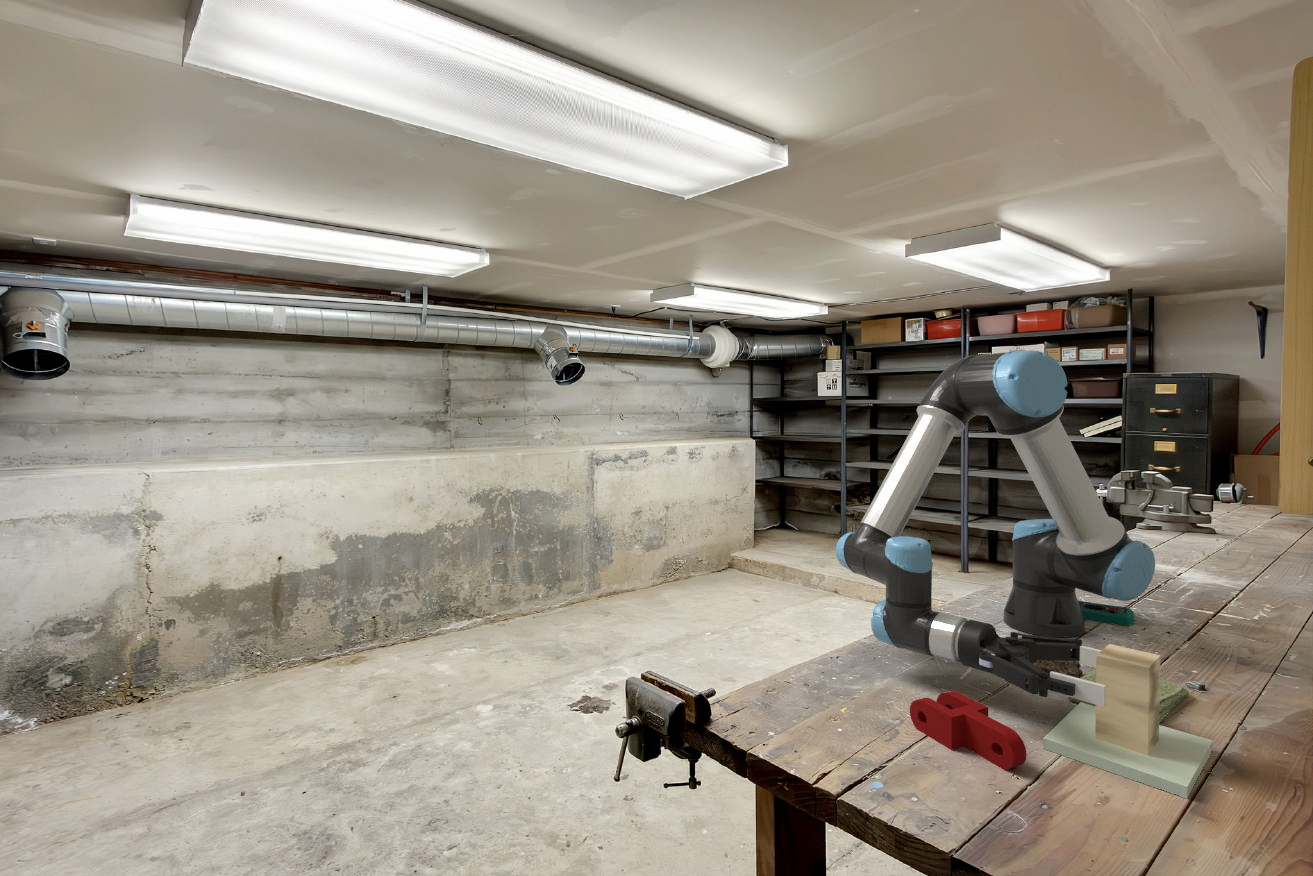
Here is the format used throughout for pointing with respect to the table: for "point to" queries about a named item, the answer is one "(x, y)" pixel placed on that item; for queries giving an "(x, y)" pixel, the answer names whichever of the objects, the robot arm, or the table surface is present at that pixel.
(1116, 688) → the beech block
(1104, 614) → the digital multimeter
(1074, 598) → the robot arm
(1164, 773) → the sage board
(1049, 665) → the brown rock
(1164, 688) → the washcloth
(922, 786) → the table surface
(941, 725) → the mechanical linkage
